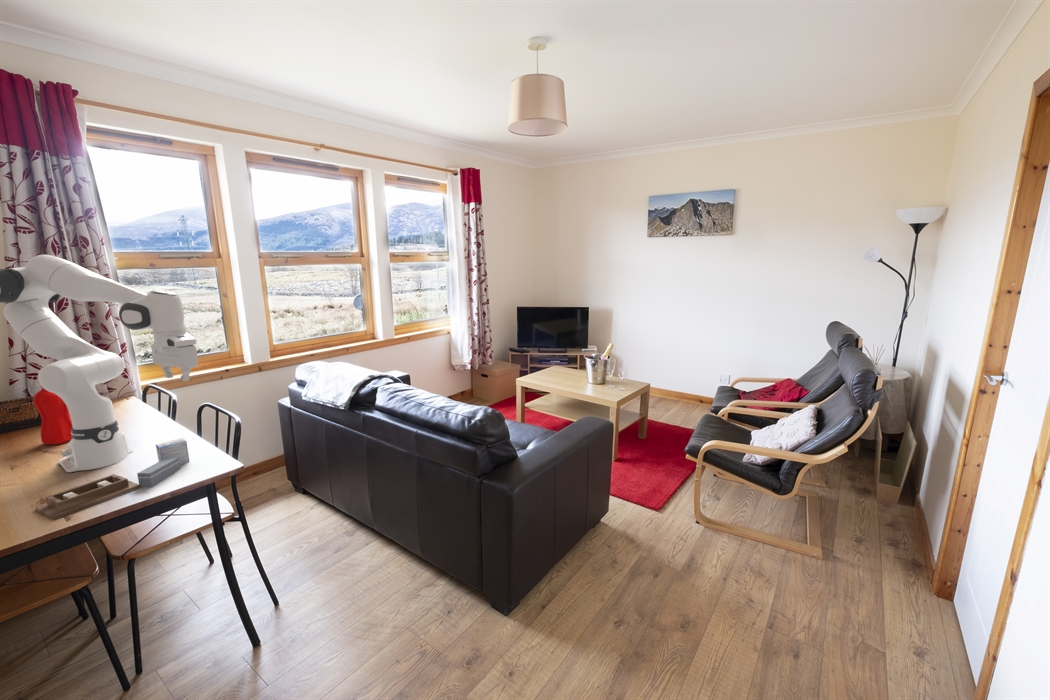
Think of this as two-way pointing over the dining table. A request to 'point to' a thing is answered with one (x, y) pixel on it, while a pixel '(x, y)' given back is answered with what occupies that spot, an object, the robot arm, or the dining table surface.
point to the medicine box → (173, 450)
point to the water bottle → (53, 418)
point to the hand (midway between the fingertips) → (177, 379)
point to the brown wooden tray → (86, 496)
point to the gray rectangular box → (158, 472)
